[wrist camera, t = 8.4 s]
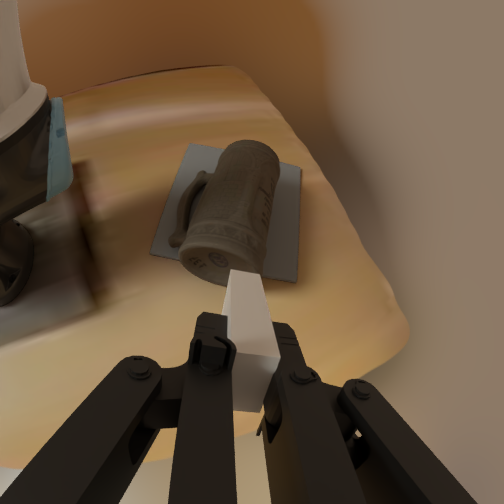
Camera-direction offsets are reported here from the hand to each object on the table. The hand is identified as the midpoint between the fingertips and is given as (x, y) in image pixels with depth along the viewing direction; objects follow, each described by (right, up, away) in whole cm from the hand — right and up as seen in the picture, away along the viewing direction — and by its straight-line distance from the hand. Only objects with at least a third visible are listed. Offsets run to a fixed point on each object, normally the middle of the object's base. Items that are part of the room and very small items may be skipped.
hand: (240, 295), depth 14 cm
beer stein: (-6, 0, +20) cm, 21 cm away
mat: (-2, +10, +32) cm, 33 cm away
